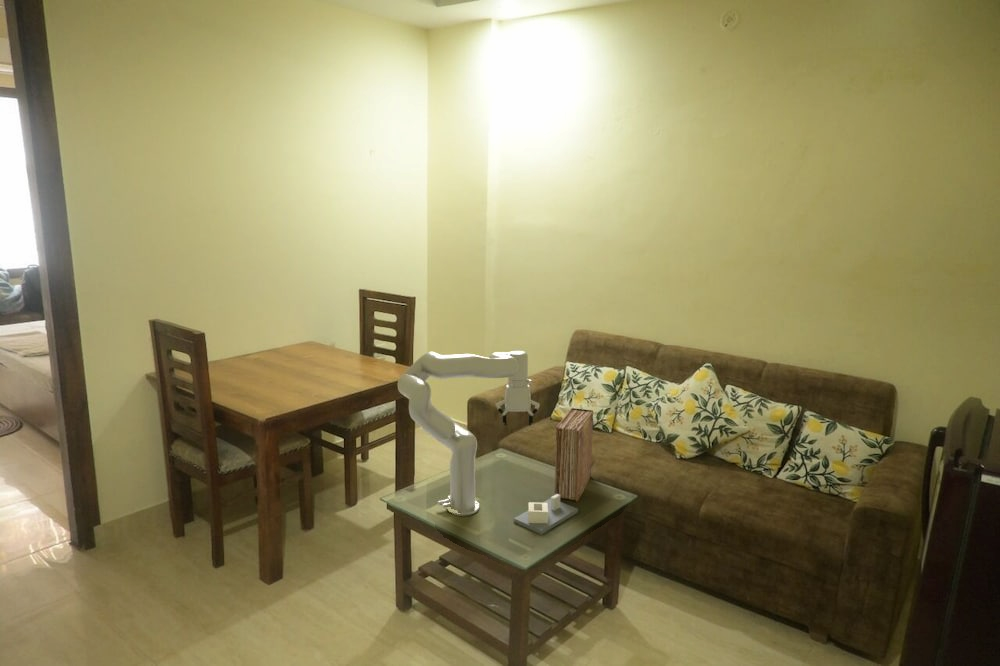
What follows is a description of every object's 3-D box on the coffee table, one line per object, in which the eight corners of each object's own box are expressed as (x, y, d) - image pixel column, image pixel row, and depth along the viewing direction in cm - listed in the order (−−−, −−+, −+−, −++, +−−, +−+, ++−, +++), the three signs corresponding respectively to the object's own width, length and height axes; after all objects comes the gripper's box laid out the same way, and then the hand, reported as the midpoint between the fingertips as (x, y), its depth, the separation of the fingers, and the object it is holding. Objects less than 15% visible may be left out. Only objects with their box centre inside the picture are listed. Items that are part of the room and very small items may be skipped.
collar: (547, 523, 222) (548, 511, 221) (528, 522, 223) (528, 511, 222) (547, 513, 229) (547, 502, 228) (528, 513, 229) (528, 502, 229)
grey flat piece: (541, 534, 218) (541, 517, 216) (513, 522, 226) (513, 505, 225) (577, 512, 233) (578, 496, 232) (550, 501, 242) (551, 486, 241)
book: (577, 502, 241) (579, 430, 235) (554, 498, 244) (555, 427, 238) (591, 476, 264) (593, 410, 258) (570, 473, 268) (571, 407, 262)
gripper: (539, 380, 243) (539, 421, 247) (495, 379, 244) (495, 421, 247) (540, 385, 236) (540, 427, 240) (495, 385, 236) (495, 427, 240)
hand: (517, 424), depth 243 cm, fingers open, 9 cm apart
